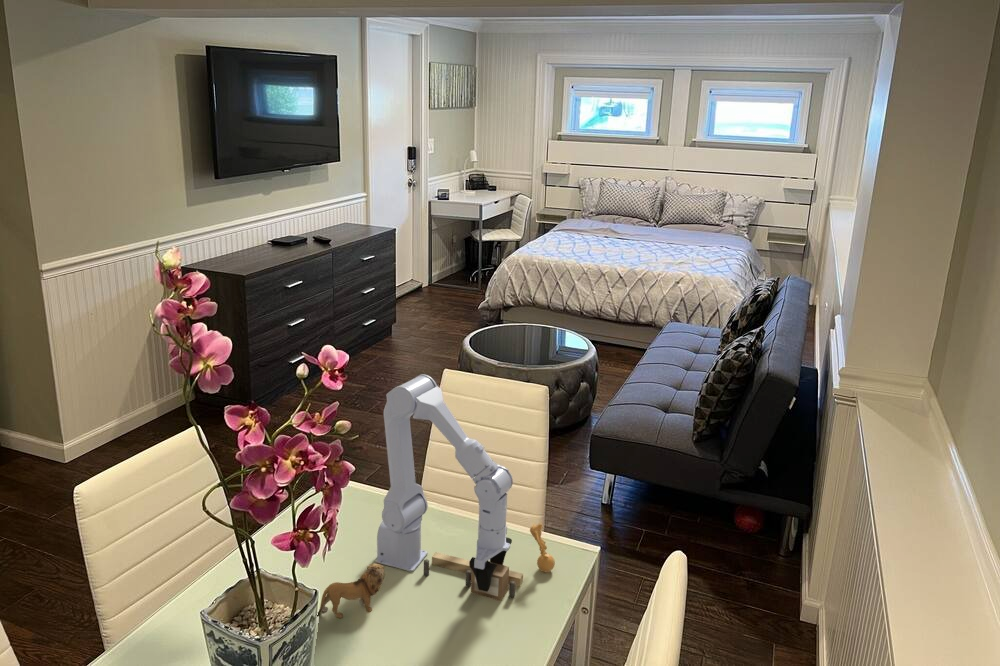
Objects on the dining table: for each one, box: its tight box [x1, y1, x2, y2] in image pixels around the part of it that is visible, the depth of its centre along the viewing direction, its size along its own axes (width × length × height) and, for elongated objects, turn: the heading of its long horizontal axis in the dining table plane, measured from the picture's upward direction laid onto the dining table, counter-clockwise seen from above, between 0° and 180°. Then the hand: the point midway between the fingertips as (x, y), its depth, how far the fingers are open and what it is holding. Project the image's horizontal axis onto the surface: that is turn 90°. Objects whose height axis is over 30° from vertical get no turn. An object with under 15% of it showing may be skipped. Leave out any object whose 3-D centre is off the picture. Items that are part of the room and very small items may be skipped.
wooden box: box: [470, 562, 510, 602], centre depth 167 cm, size 7×4×6 cm, turn 69°
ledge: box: [423, 551, 524, 599], centre depth 171 cm, size 21×7×4 cm, turn 70°
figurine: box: [529, 523, 556, 573], centre depth 174 cm, size 8×6×12 cm
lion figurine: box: [316, 562, 386, 619], centre depth 159 cm, size 15×5×9 cm, turn 119°
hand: (489, 579), depth 167 cm, fingers open, 7 cm apart
